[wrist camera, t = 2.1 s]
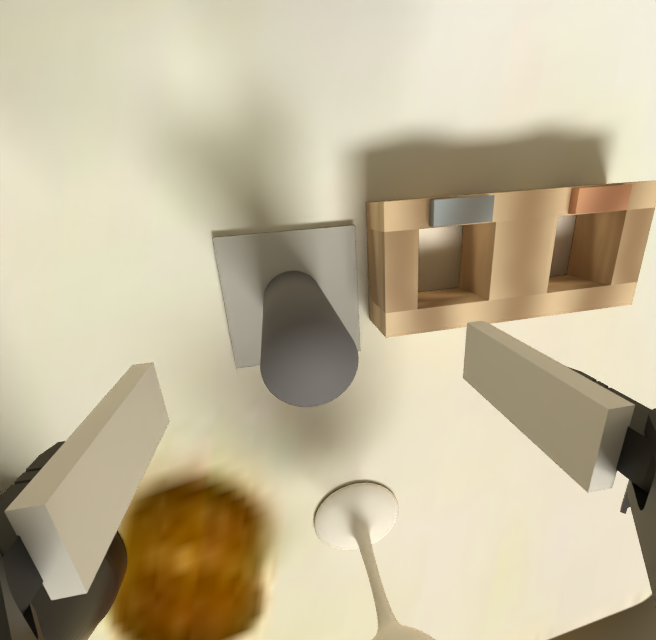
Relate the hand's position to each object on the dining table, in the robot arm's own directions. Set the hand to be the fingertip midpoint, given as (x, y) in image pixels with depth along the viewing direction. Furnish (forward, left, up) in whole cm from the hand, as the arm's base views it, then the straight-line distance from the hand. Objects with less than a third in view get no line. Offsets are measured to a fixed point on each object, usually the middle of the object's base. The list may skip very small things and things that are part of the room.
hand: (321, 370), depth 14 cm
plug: (0, 0, -12) cm, 12 cm away
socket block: (+16, +2, -12) cm, 20 cm away
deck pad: (0, 0, -12) cm, 12 cm away
